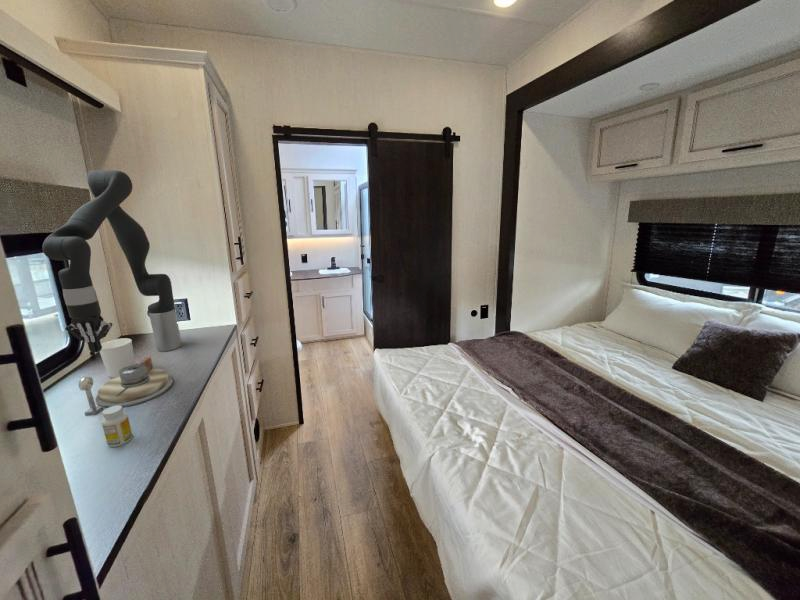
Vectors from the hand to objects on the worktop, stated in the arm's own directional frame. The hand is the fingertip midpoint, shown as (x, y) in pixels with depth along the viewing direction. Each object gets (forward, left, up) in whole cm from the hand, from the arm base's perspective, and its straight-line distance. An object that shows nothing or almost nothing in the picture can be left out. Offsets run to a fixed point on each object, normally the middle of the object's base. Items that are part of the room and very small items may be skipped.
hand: (96, 351), depth 112 cm
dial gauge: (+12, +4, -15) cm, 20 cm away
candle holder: (-15, -5, -15) cm, 22 cm away
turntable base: (0, +9, -15) cm, 18 cm away
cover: (0, +10, -12) cm, 15 cm away
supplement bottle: (+27, +22, -15) cm, 38 cm away
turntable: (0, +9, -14) cm, 17 cm away
